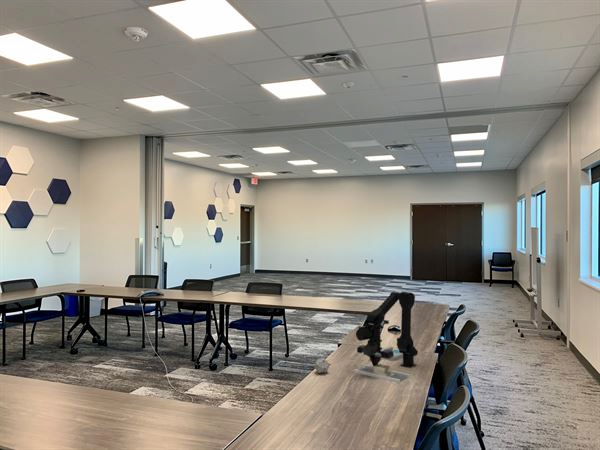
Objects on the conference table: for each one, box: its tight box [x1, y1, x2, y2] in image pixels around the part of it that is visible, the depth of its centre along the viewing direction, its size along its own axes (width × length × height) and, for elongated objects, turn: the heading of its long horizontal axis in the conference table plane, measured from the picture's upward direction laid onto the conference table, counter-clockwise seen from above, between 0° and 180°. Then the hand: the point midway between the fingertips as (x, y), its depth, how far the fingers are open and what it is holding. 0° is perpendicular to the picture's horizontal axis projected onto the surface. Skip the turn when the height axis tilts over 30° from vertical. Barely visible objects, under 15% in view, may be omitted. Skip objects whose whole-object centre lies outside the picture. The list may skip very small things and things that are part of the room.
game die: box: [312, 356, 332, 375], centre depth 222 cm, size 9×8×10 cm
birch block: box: [374, 363, 391, 377], centre depth 217 cm, size 6×6×4 cm
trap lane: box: [353, 364, 411, 384], centre depth 218 cm, size 11×26×2 cm, turn 48°
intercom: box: [381, 345, 403, 362], centre depth 248 cm, size 13×4×25 cm
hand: (375, 368), depth 221 cm, fingers closed
